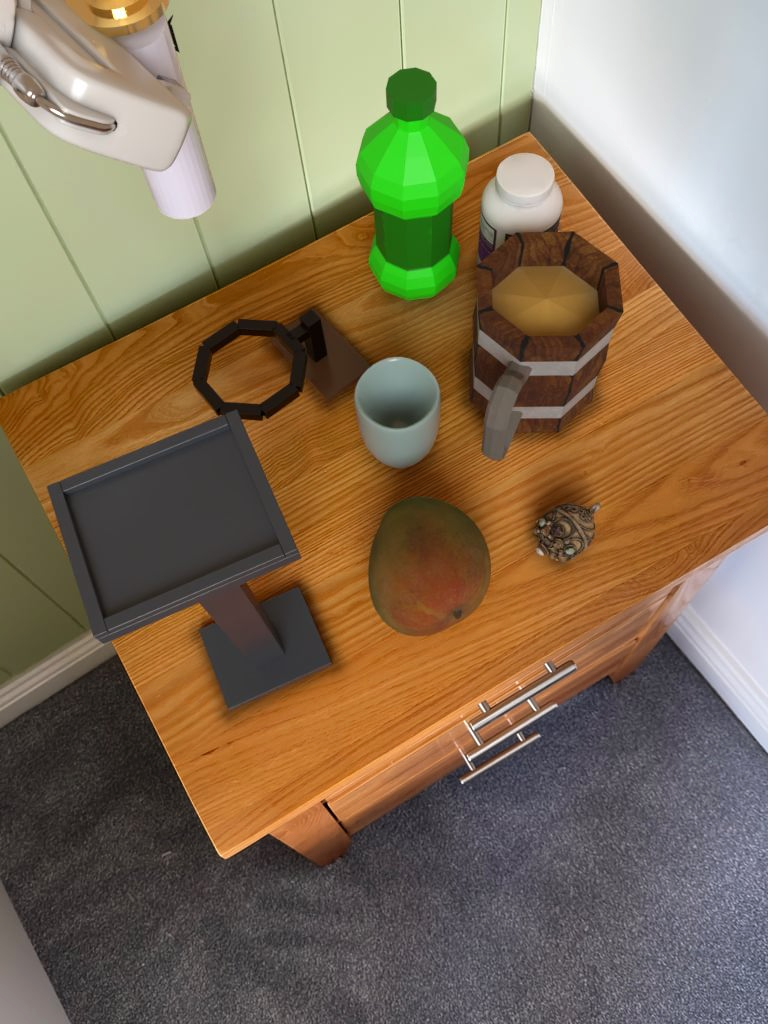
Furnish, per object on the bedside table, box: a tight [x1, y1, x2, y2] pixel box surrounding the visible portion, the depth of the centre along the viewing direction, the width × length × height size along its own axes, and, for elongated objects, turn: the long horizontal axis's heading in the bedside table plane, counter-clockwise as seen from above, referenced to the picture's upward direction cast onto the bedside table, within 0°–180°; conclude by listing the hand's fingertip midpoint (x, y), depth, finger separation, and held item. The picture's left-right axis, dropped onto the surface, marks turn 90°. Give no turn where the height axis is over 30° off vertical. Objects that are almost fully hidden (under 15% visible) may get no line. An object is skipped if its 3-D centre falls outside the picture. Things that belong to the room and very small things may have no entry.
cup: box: [353, 356, 442, 469], centre depth 80 cm, size 8×8×10 cm
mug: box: [468, 230, 625, 462], centre depth 79 cm, size 20×14×15 cm
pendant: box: [531, 501, 601, 563], centre depth 77 cm, size 5×8×5 cm, turn 129°
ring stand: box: [191, 307, 372, 422], centre depth 84 cm, size 16×11×7 cm, turn 129°
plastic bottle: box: [355, 67, 470, 302], centre depth 81 cm, size 10×10×25 cm
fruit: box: [367, 495, 492, 637], centre depth 74 cm, size 12×13×10 cm
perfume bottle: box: [65, 0, 217, 220], centre depth 52 cm, size 6×6×20 cm
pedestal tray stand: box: [46, 410, 333, 712], centre depth 62 cm, size 12×10×32 cm
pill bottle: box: [476, 152, 564, 266], centre depth 85 cm, size 8×8×14 cm
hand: (154, 76), depth 52 cm, fingers closed on perfume bottle, 4 cm apart
